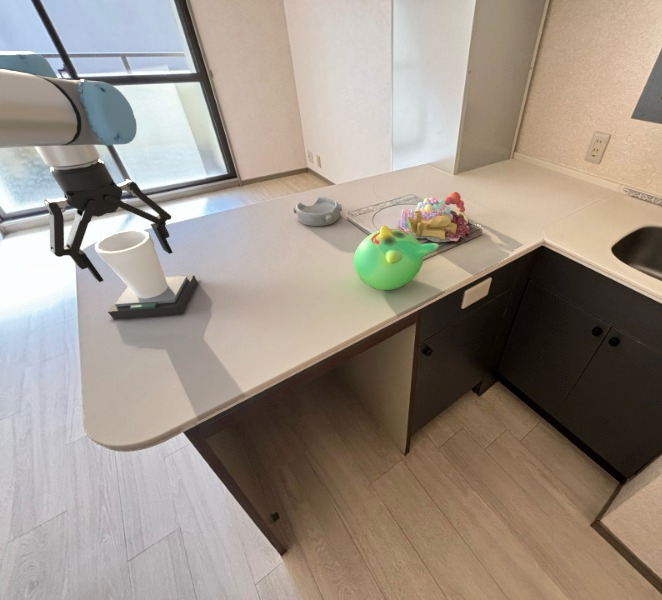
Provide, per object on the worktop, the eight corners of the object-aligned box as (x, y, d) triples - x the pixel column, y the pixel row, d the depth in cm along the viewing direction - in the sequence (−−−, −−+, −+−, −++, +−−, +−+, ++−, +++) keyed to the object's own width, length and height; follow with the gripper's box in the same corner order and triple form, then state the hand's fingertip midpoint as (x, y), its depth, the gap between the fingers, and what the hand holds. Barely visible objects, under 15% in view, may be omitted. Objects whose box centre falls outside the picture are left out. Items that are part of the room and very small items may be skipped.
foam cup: (183, 286, 77) (158, 238, 68) (142, 308, 70) (109, 258, 62) (160, 273, 80) (134, 225, 72) (120, 292, 74) (85, 243, 66)
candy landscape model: (475, 246, 101) (480, 218, 94) (399, 244, 100) (400, 216, 94) (463, 210, 119) (467, 185, 113) (399, 208, 119) (400, 183, 113)
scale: (113, 319, 72) (105, 309, 70) (137, 286, 81) (131, 276, 79) (181, 314, 74) (175, 303, 72) (197, 282, 83) (193, 272, 81)
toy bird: (393, 256, 95) (394, 209, 85) (436, 282, 86) (443, 233, 76) (343, 281, 85) (338, 231, 76) (386, 313, 76) (387, 262, 67)
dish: (290, 221, 109) (287, 207, 106) (317, 206, 118) (315, 192, 115) (323, 232, 104) (321, 218, 101) (349, 216, 113) (348, 202, 110)
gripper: (142, 144, 66) (184, 236, 80) (-32, 177, 50) (57, 285, 64) (161, 151, 63) (201, 246, 77) (-20, 189, 47) (71, 300, 61)
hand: (135, 264), depth 70 cm, fingers open, 13 cm apart
